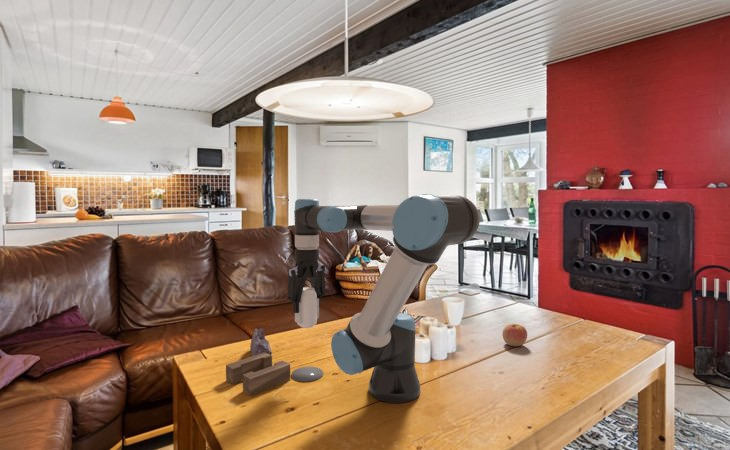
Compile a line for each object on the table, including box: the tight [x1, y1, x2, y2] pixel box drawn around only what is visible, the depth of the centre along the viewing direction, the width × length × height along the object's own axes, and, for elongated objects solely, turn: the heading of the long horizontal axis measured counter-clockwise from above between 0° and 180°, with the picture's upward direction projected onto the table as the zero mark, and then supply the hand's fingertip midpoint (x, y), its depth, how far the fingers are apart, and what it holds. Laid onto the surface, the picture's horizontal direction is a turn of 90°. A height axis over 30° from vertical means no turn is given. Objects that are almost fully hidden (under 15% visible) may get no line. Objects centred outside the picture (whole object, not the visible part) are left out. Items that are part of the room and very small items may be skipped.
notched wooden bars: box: [225, 352, 291, 397], centre depth 125 cm, size 14×14×5 cm
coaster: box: [291, 366, 324, 383], centre depth 129 cm, size 10×10×1 cm
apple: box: [502, 323, 528, 347], centre depth 156 cm, size 9×9×8 cm
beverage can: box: [296, 286, 318, 329], centre depth 127 cm, size 6×6×12 cm
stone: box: [249, 328, 273, 357], centre depth 143 cm, size 10×6×15 cm
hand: (307, 319), depth 128 cm, fingers closed on beverage can, 6 cm apart
